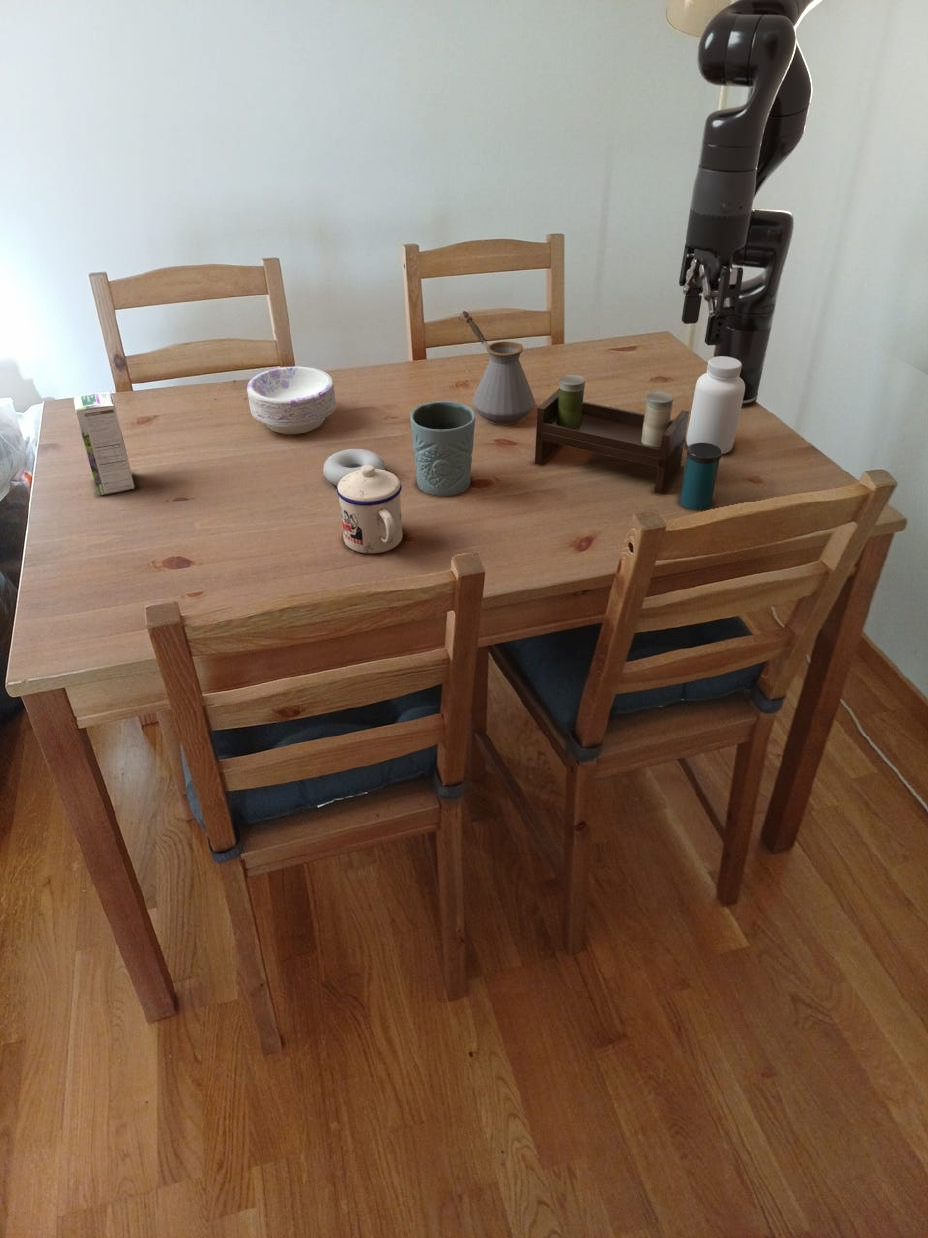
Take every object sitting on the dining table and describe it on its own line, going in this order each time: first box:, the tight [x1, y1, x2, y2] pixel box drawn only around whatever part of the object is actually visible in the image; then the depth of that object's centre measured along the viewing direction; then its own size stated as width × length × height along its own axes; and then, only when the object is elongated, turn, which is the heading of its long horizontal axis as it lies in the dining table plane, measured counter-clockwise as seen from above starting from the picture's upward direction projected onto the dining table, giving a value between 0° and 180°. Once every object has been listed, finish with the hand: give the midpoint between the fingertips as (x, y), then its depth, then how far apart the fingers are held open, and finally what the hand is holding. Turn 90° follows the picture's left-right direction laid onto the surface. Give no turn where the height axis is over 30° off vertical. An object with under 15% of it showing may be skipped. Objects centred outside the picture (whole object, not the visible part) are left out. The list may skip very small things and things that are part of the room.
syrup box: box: [73, 392, 136, 496], centre depth 138 cm, size 6×6×14 cm
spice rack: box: [534, 374, 690, 495], centre depth 142 cm, size 10×22×14 cm, turn 62°
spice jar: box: [679, 443, 723, 511], centre depth 134 cm, size 5×5×9 cm
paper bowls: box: [246, 366, 337, 435], centre depth 158 cm, size 15×15×8 cm
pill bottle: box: [685, 356, 745, 455], centre depth 147 cm, size 8×8×15 cm
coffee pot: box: [457, 310, 536, 426], centre depth 161 cm, size 21×12×15 cm, turn 28°
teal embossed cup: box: [409, 400, 476, 497], centre depth 138 cm, size 10×10×12 cm
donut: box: [322, 448, 386, 487], centre depth 143 cm, size 10×4×10 cm
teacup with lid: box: [336, 465, 403, 555], centre depth 124 cm, size 12×9×12 cm
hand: (700, 333), depth 121 cm, fingers open, 8 cm apart
